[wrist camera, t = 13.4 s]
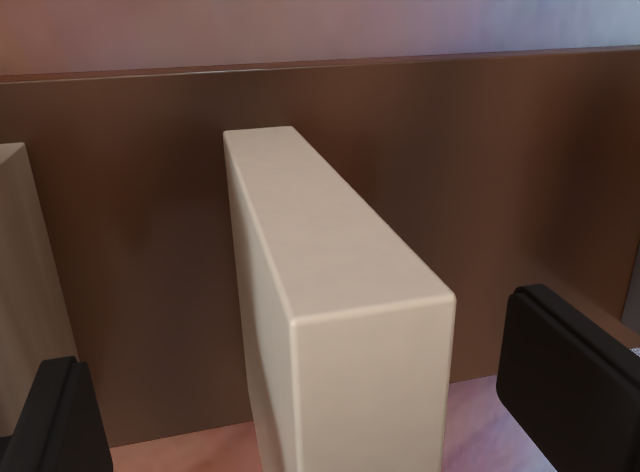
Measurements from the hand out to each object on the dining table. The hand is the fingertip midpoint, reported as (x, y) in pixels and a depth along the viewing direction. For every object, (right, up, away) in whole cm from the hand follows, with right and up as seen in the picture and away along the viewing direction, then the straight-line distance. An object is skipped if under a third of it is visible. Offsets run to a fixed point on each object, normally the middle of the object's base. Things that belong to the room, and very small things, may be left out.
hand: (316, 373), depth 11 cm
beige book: (-1, +2, +5) cm, 6 cm away
